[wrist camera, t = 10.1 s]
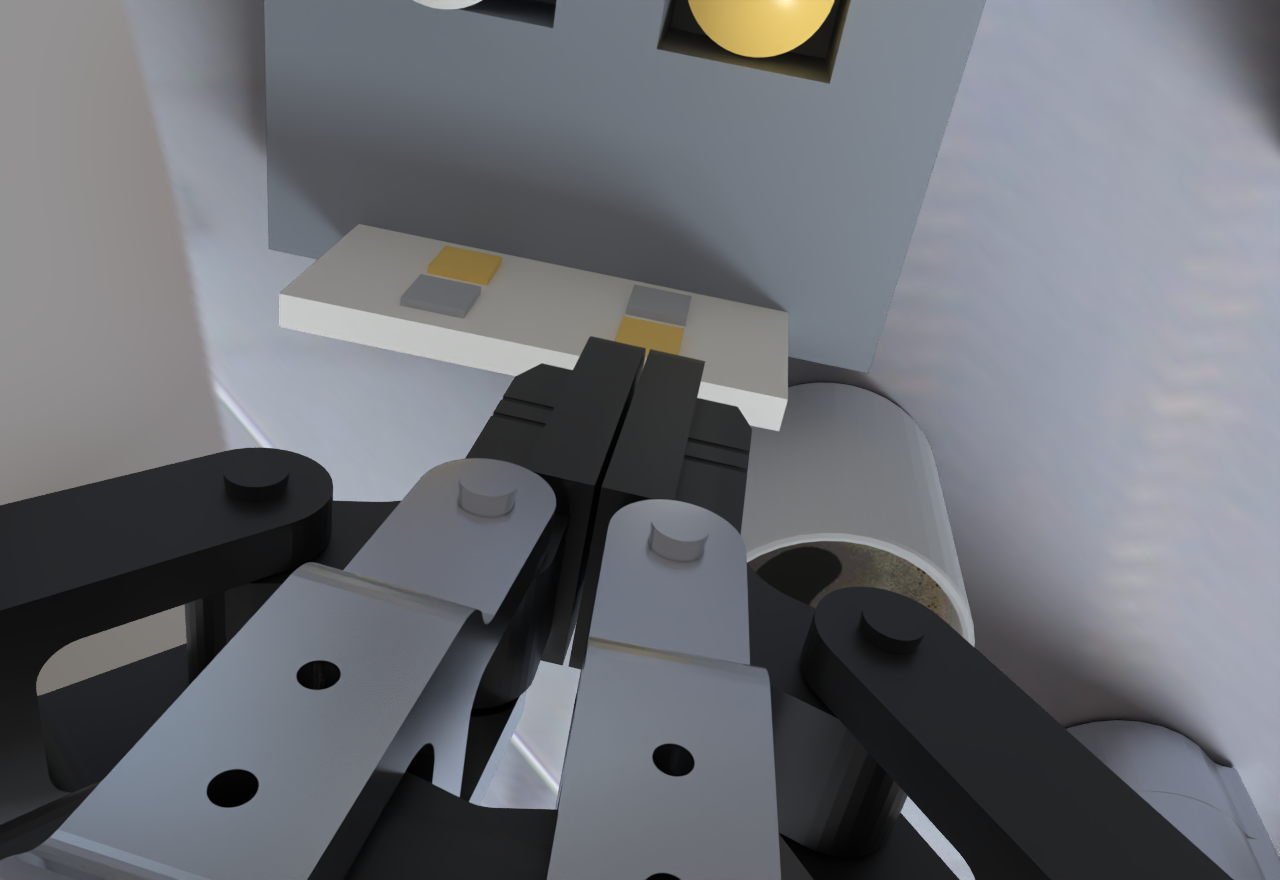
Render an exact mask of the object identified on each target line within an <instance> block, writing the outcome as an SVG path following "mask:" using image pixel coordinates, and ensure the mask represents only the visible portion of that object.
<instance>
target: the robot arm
mask: <svg viewBox="0 0 1280 880" xmlns="http://www.w3.org/2000/svg"><path fill="white" fill-rule="evenodd" d="M645 354H646V348H643V347H638V346H634V345H629V344H625V343H620V342H616V341H611V340H607V339H602V338H598V337H593V336H590V337H589V339H588V341H587V343H586V345H585V347H584V349H583V351H582V353H581V355H580V357H579V359H578V361H577V363H576V365H575V367H574V369H573V370H570V369H565V368H561V367H556V366H552V365H547V364H543V363H541V364H539V365H537V366H535V367H533V368H531V369H529V370H527V371H525V372H523V373H521V374H519V375H517V376H516V377H515V378H514V380H513V381H512V383H511V385H510V386H509V388H508V389H507V391H506V393H505V394H504V396H503V400H501V401H500V403H499V404H498V406H497V407H496V409H495V411H494V414H493V416H491V417H490V419H489V420H488V422H487V424H486V425H485V427H484V429H483V430H482V432H481V434H480V435H479V437H478V438H477V440H476V442H475V443H474V445H473V447H472V448H471V450H470V452H469V453H468V455H467V456H466V458H465V459H460V460H454V461H450V462H446V463H443V464H441V465H438V466H436V467H434V468H432V469H431V470H429V471H428V472H427V473H425V474H424V475H423V476H422V477H421V479H420V480H419V481H418V482H417V483H416V484H415V486H414V487H413V488H412V489H411V490H410V492H409V493H408V494H407V495H406V496H405V498H404V499H403V500H402V501H393V502H357V501H333V483H332V479H331V477H330V475H329V473H328V472H327V471H326V470H325V468H324V467H322V466H321V465H320V464H319V463H317V462H316V461H314V460H312V459H310V458H308V457H306V456H303V455H301V454H298V453H294V452H290V451H286V450H280V449H273V448H244V449H235V450H230V451H224V452H220V453H216V454H212V455H208V456H204V457H200V458H195V459H191V460H187V461H183V462H179V463H175V464H170V465H166V466H162V467H158V468H154V469H150V470H146V471H142V472H138V473H133V474H129V475H125V476H121V477H117V478H113V479H108V480H104V481H100V482H96V483H92V484H87V485H84V486H79V487H75V488H71V489H67V490H62V491H59V492H54V493H50V494H46V495H42V496H38V497H34V498H29V499H25V500H21V501H17V502H13V503H9V504H5V505H0V880H959V879H958V877H957V876H956V875H955V874H954V873H953V872H952V871H951V869H950V868H949V867H948V866H947V865H946V864H945V863H944V862H943V860H942V859H941V858H940V857H939V856H938V855H937V854H936V852H935V851H934V850H933V849H932V848H931V847H930V846H929V845H928V843H927V842H926V841H925V840H924V839H923V838H922V837H921V835H920V834H919V833H918V832H917V831H916V830H915V829H914V827H913V826H912V825H911V824H910V823H909V822H908V821H907V820H906V818H905V817H904V816H903V815H902V814H901V813H900V812H901V810H902V807H903V805H904V803H905V800H906V798H907V796H908V797H909V798H910V799H911V800H912V801H913V802H914V803H915V804H916V805H917V807H918V808H919V809H920V810H921V811H922V812H923V813H924V814H925V815H926V816H927V818H928V819H929V820H930V821H931V822H932V823H933V824H934V825H935V826H936V828H937V829H938V830H939V831H940V832H941V833H942V834H943V835H944V836H945V838H946V839H947V840H948V841H949V842H950V843H951V844H952V845H953V846H954V848H955V849H956V850H957V851H958V852H959V853H960V854H961V856H962V857H963V858H964V859H965V861H966V862H967V864H968V866H969V867H970V869H971V871H972V873H973V875H974V877H975V880H1280V858H1279V856H1278V854H1277V852H1276V850H1275V848H1274V846H1273V844H1272V842H1271V839H1270V837H1269V835H1268V833H1267V831H1266V829H1265V827H1264V825H1263V823H1262V821H1261V819H1260V817H1259V815H1258V813H1257V811H1256V809H1255V806H1254V804H1253V802H1252V800H1251V798H1250V796H1249V794H1248V792H1247V790H1246V788H1245V786H1244V784H1243V782H1242V780H1241V778H1240V775H1239V773H1238V771H1237V770H1236V769H1233V768H1229V767H1224V766H1221V765H1218V764H1216V763H1214V762H1213V761H1212V760H1211V759H1210V758H1209V757H1208V756H1207V755H1206V754H1205V753H1204V752H1203V750H1202V749H1201V748H1200V747H1199V746H1198V745H1196V744H1195V743H1194V742H1192V741H1191V740H1189V739H1188V738H1186V737H1185V736H1183V735H1181V734H1179V733H1177V732H1174V731H1172V730H1169V729H1167V728H1165V727H1162V726H1157V725H1153V724H1148V723H1144V722H1137V721H1122V720H1113V721H1101V722H1092V723H1087V724H1083V725H1079V726H1074V727H1070V728H1068V729H1065V728H1064V727H1063V726H1062V725H1060V724H1059V723H1058V722H1057V721H1056V720H1055V719H1054V718H1053V717H1052V716H1050V715H1049V714H1048V713H1047V712H1046V711H1045V710H1044V709H1043V708H1041V707H1040V706H1039V705H1038V704H1037V703H1036V702H1035V701H1034V700H1033V699H1031V698H1030V697H1029V696H1028V695H1027V694H1026V693H1025V692H1024V691H1022V690H1021V689H1020V688H1019V687H1018V686H1017V685H1016V684H1015V683H1014V682H1012V681H1011V680H1010V679H1009V678H1008V677H1007V676H1006V675H1005V674H1003V673H1002V672H1001V671H1000V670H999V669H998V668H997V667H996V666H995V665H993V664H992V663H991V662H990V661H989V660H988V659H987V658H986V657H984V656H983V655H982V654H981V653H980V652H979V651H978V650H977V649H976V648H974V647H973V646H972V645H971V644H970V643H969V642H968V641H967V640H965V639H964V638H963V637H962V636H961V635H960V634H959V633H958V632H957V631H955V630H954V629H953V628H952V627H951V626H950V625H949V624H948V623H947V622H945V621H944V620H943V619H942V618H941V617H939V616H938V615H937V614H936V613H934V612H933V611H932V610H930V609H929V608H927V607H926V606H924V605H922V604H921V603H919V602H917V601H915V600H913V599H911V598H908V597H906V596H903V595H901V594H898V593H895V592H892V591H888V590H884V589H879V588H874V587H863V586H860V587H847V588H841V589H838V590H835V591H832V592H830V593H829V594H827V595H825V596H824V597H823V598H822V599H821V600H820V601H819V603H818V605H817V607H816V609H815V608H813V607H811V606H809V605H807V604H804V603H802V602H800V601H798V600H796V599H793V598H791V597H789V596H788V595H786V594H784V593H782V592H780V591H778V590H777V589H775V588H774V587H772V586H770V585H769V584H768V583H767V582H765V581H764V580H763V579H762V578H760V577H759V576H758V575H757V574H756V573H755V572H754V571H753V570H752V568H751V567H750V566H749V564H748V563H747V557H746V547H745V543H744V541H743V539H742V537H741V528H742V518H743V509H744V500H745V491H746V482H747V471H748V463H749V452H750V445H751V436H752V428H751V427H750V425H749V424H748V422H747V420H746V419H745V417H744V416H743V414H742V412H741V411H740V409H739V408H738V407H737V406H732V405H728V404H723V403H719V402H714V401H710V400H705V399H701V398H697V396H698V392H699V387H700V383H701V379H702V374H703V370H704V365H705V361H702V360H698V359H693V358H689V357H684V356H680V355H675V354H671V353H666V352H662V351H657V350H653V349H650V351H649V354H648V356H647V359H646V362H645V365H644V361H645ZM643 366H644V368H643ZM183 604H185V620H186V638H187V643H186V644H183V645H180V646H178V647H175V648H172V649H169V650H167V651H164V652H161V653H158V654H155V655H153V656H150V657H147V658H144V659H141V660H139V661H136V662H133V663H130V664H128V665H125V666H122V667H119V668H116V669H113V670H111V671H108V672H105V673H102V674H99V675H97V676H94V677H91V678H88V679H86V680H83V681H80V682H77V683H74V684H71V685H69V686H66V687H63V688H60V689H57V690H55V691H52V692H49V693H46V694H43V695H40V696H37V692H36V681H37V677H38V675H39V672H40V670H41V669H42V667H43V665H44V664H45V663H46V661H47V660H48V659H49V658H50V657H51V656H52V655H53V654H54V653H55V652H57V651H58V650H60V649H61V648H63V647H64V646H65V645H68V644H69V643H71V642H73V641H76V640H78V639H81V638H84V637H87V636H90V635H93V634H96V633H99V632H102V631H105V630H108V629H111V628H114V627H117V626H120V625H123V624H126V623H129V622H132V621H135V620H138V619H141V618H144V617H147V616H150V615H153V614H156V613H159V612H162V611H165V610H168V609H171V608H174V607H177V606H180V605H183ZM576 622H577V624H576ZM575 625H576V629H575V634H574V640H573V645H572V651H571V656H570V662H569V667H573V668H577V669H581V673H580V678H579V684H578V689H577V694H576V699H575V704H574V709H573V714H572V719H571V725H570V730H569V735H568V741H567V747H566V752H565V758H564V763H563V769H562V774H561V780H560V785H559V791H558V796H557V802H556V807H555V810H550V809H513V808H489V807H483V806H480V804H481V801H482V799H483V797H484V795H485V793H486V791H487V789H488V787H489V784H490V782H491V780H492V778H493V776H494V774H495V772H496V769H497V767H498V765H499V763H500V761H501V759H502V757H503V754H504V752H505V750H506V748H507V746H508V744H509V742H510V739H511V737H512V735H513V733H514V731H515V729H516V727H517V725H518V722H519V720H520V718H521V715H522V712H523V709H524V703H525V696H526V690H527V689H528V687H529V686H530V685H531V683H532V681H533V679H534V677H535V674H536V671H537V668H538V665H539V663H540V660H542V661H546V662H550V663H555V664H559V665H563V662H564V659H565V656H566V653H567V650H568V647H569V644H570V641H571V637H572V634H573V631H574V628H575Z"/></svg>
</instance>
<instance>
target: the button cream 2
mask: <svg viewBox="0 0 1280 880" xmlns="http://www.w3.org/2000/svg"><path fill="white" fill-rule="evenodd" d="M413 1H415V2H417V3H420V4H422V5H425V6H428V7H432V8H437V9H459V8H465V7H468V6H471V5H474V4H476V3H478V2H480V1H482V0H413Z"/></svg>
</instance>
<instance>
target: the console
mask: <svg viewBox="0 0 1280 880" xmlns="http://www.w3.org/2000/svg"><path fill="white" fill-rule="evenodd" d="M985 2H986V0H835V1H834V4H833V6H832V8H831V10H830V12H829V14H828V16H827V17H826V19H825V21H824V22H823V23H822V25H821V26H820V27H819V29H818V30H817V31H816V32H815V33H814V34H813V35H812V36H811V37H810V38H809V39H807V40H806V41H805V42H804V43H802V44H801V45H799V46H797V47H796V48H794V49H792V50H790V51H788V52H785V53H783V54H779V55H776V56H770V57H748V56H743V55H739V54H735V53H733V52H731V51H728V50H726V49H725V48H723V47H721V46H720V45H718V44H717V43H716V42H714V41H713V40H712V39H711V38H710V37H709V36H708V35H707V34H706V33H705V32H704V31H703V29H702V28H701V27H700V25H699V24H698V22H697V20H696V19H695V17H694V15H693V13H692V10H691V8H690V5H689V2H688V0H482V1H480V2H478V3H476V4H474V5H471V6H468V7H465V8H459V9H437V8H432V7H428V6H425V5H422V4H420V3H417V2H415V1H413V0H264V26H265V78H266V129H267V181H268V233H269V249H271V250H276V251H281V252H285V253H290V254H295V255H300V256H305V257H309V258H314V259H318V260H317V261H316V262H315V263H313V264H312V265H311V266H310V267H309V268H308V269H307V270H305V271H304V272H303V273H302V274H301V275H300V276H299V277H297V278H296V279H295V280H294V281H293V282H292V283H290V284H289V285H288V286H287V287H286V288H285V289H284V290H282V291H281V292H280V293H279V327H282V328H287V329H292V330H297V331H301V332H306V333H311V334H316V335H320V336H325V337H330V338H335V339H340V340H344V341H349V342H354V343H359V344H364V345H368V346H373V347H378V348H383V349H387V350H392V351H397V352H402V353H407V354H411V355H416V356H421V357H426V358H430V359H435V360H440V361H445V362H450V363H454V364H459V365H464V366H469V367H473V368H478V369H483V370H488V371H493V372H497V373H502V374H507V375H512V376H517V375H519V374H521V373H523V372H525V371H527V370H529V369H531V368H533V367H535V366H537V365H539V364H541V363H543V364H547V365H552V366H556V367H561V368H565V369H570V370H573V369H574V367H575V365H576V363H577V361H578V359H579V357H580V355H581V353H582V351H583V349H584V347H585V345H586V343H587V341H588V339H589V337H590V336H593V337H598V338H602V339H607V340H611V341H616V342H620V343H625V344H629V345H634V346H638V347H643V348H646V354H645V361H644V365H645V362H646V359H647V356H648V354H649V351H650V349H653V350H657V351H662V352H666V353H671V354H675V355H680V356H684V357H689V358H693V359H698V360H702V361H705V365H704V370H703V374H702V379H701V383H700V387H699V392H698V396H697V398H701V399H705V400H710V401H714V402H719V403H723V404H728V405H732V406H737V407H738V408H739V409H740V411H741V412H742V414H743V416H744V417H745V419H746V420H747V422H748V424H749V425H751V426H756V427H760V428H765V429H770V430H775V431H779V430H780V426H781V423H782V419H783V415H784V412H785V408H786V405H787V401H788V357H792V358H797V359H802V360H806V361H811V362H816V363H821V364H826V365H830V366H835V367H840V368H845V369H850V370H855V371H859V372H864V373H869V369H870V366H871V363H872V360H873V357H874V354H875V350H876V347H877V344H878V341H879V338H880V335H881V331H882V328H883V325H884V322H885V319H886V316H887V312H888V309H889V306H890V303H891V300H892V297H893V293H894V290H895V287H896V284H897V281H898V278H899V274H900V271H901V268H902V265H903V262H904V259H905V255H906V252H907V249H908V246H909V243H910V240H911V236H912V233H913V230H914V227H915V224H916V221H917V217H918V214H919V211H920V208H921V205H922V202H923V198H924V195H925V192H926V189H927V186H928V183H929V179H930V176H931V173H932V170H933V167H934V164H935V160H936V157H937V154H938V151H939V148H940V145H941V141H942V138H943V135H944V132H945V129H946V126H947V122H948V119H949V116H950V113H951V110H952V107H953V103H954V100H955V97H956V94H957V91H958V88H959V84H960V81H961V78H962V75H963V72H964V69H965V65H966V62H967V59H968V56H969V53H970V50H971V46H972V43H973V40H974V37H975V34H976V31H977V27H978V24H979V21H980V18H981V15H982V12H983V8H984V5H985ZM643 368H644V366H643Z"/></svg>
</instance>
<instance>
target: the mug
mask: <svg viewBox="0 0 1280 880" xmlns="http://www.w3.org/2000/svg"><path fill="white" fill-rule="evenodd" d="M750 427H751V428H752V436H751V445H750V452H749V463H748V471H747V482H746V491H745V500H744V509H743V518H742V528H741V537H742V539H743V541H744V543H745V547H746V557H747V563H748V564H749V566H750V567H751V568H752V570H753V571H754V572H755V573H756V574H757V575H758V576H759V577H760V578H762V579H763V580H764V581H765V582H767V583H768V584H769V585H770V586H772V587H774V588H775V589H777V590H778V591H780V592H782V593H784V594H786V595H788V596H789V597H791V598H793V599H796V600H798V601H800V602H802V603H804V604H807V605H809V606H811V607H813V608H815V609H816V607H817V605H818V603H819V601H820V600H821V599H822V598H823V597H824V596H825V595H827V594H829V593H830V592H832V591H835V590H838V589H841V588H847V587H860V586H863V587H874V588H879V589H884V590H888V591H892V592H895V593H898V594H901V595H903V596H906V597H908V598H911V599H913V600H915V601H917V602H919V603H921V604H922V605H924V606H926V607H927V608H929V609H930V610H932V611H933V612H934V613H936V614H937V615H938V616H939V617H941V618H942V619H943V620H944V621H945V622H947V623H948V624H949V625H950V626H951V627H952V628H953V629H954V630H955V631H957V632H958V633H959V634H960V635H961V636H962V637H963V638H964V639H965V640H967V641H968V642H969V643H970V644H971V645H972V646H973V647H974V645H975V637H974V625H973V620H972V616H971V612H970V608H969V603H968V599H967V595H966V591H965V586H964V582H963V578H962V574H961V569H960V565H959V561H958V557H957V552H956V548H955V544H954V540H953V535H952V531H951V527H950V523H949V518H948V514H947V510H946V506H945V502H944V497H943V493H942V489H941V485H940V480H939V476H938V472H937V468H936V463H935V460H934V456H933V453H932V449H931V447H930V445H929V443H928V441H927V439H926V437H925V435H924V433H923V432H922V430H921V429H920V428H919V426H918V425H917V424H916V422H915V421H914V420H913V419H912V418H911V417H910V416H909V415H908V414H907V413H906V412H904V411H903V410H902V409H901V408H900V407H898V406H897V405H895V404H894V403H892V402H891V401H889V400H888V399H886V398H884V397H882V396H880V395H878V394H875V393H873V392H871V391H869V390H865V389H862V388H859V387H855V386H852V385H845V384H839V383H808V384H801V385H795V386H791V387H788V401H787V405H786V408H785V412H784V415H783V419H782V423H781V426H780V430H779V431H775V430H770V429H765V428H760V427H756V426H751V425H750Z"/></svg>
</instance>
